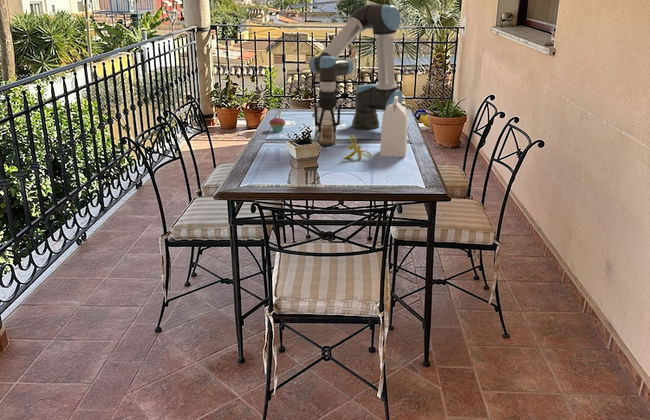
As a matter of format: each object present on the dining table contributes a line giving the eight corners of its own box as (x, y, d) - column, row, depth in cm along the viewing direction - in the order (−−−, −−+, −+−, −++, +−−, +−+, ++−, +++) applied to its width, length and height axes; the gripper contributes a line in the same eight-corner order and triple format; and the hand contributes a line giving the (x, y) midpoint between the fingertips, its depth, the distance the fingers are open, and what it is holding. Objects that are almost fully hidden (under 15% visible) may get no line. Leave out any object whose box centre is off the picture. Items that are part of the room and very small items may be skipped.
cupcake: (286, 129, 313) (286, 107, 308) (284, 133, 305) (283, 110, 301) (271, 129, 313) (270, 107, 309) (268, 132, 306) (267, 110, 301)
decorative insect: (358, 169, 262) (372, 154, 257) (355, 171, 259) (370, 156, 254) (338, 148, 262) (352, 133, 257) (335, 150, 259) (350, 135, 254)
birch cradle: (319, 136, 299) (319, 126, 297) (335, 136, 299) (335, 126, 297) (319, 144, 283) (319, 134, 281) (335, 144, 283) (335, 134, 281)
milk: (404, 157, 262) (408, 99, 253) (379, 155, 264) (382, 98, 255) (406, 150, 273) (409, 95, 264) (382, 149, 275) (384, 94, 266)
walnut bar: (322, 134, 280) (322, 126, 279) (331, 134, 280) (331, 126, 279) (322, 138, 269) (322, 129, 268) (331, 138, 269) (332, 129, 268)
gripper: (308, 91, 265) (308, 141, 273) (346, 91, 265) (345, 141, 273) (309, 89, 272) (309, 137, 280) (346, 89, 272) (345, 137, 280)
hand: (327, 139), depth 277 cm, fingers closed on walnut bar, 4 cm apart
